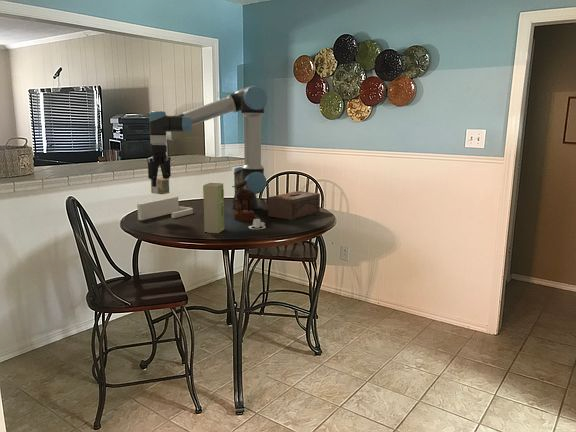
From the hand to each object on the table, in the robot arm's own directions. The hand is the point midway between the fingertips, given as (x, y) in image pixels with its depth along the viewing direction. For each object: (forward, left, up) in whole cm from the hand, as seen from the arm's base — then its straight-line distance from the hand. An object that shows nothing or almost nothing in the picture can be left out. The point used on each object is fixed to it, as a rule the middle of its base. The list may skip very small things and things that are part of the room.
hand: (160, 192), depth 229 cm
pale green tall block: (-38, +5, -14) cm, 40 cm away
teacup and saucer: (-52, -13, -14) cm, 55 cm away
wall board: (+3, -7, -14) cm, 16 cm away
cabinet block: (0, 0, 0) cm, 0 cm away
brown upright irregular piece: (-34, -23, -14) cm, 43 cm away
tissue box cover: (-48, -47, -14) cm, 69 cm away
